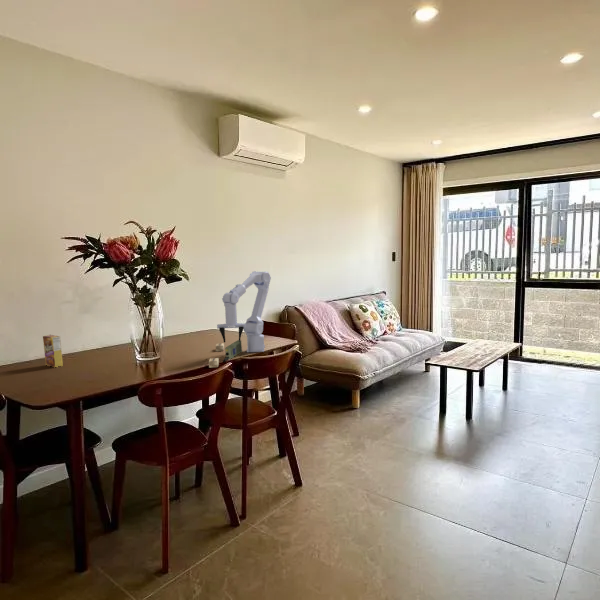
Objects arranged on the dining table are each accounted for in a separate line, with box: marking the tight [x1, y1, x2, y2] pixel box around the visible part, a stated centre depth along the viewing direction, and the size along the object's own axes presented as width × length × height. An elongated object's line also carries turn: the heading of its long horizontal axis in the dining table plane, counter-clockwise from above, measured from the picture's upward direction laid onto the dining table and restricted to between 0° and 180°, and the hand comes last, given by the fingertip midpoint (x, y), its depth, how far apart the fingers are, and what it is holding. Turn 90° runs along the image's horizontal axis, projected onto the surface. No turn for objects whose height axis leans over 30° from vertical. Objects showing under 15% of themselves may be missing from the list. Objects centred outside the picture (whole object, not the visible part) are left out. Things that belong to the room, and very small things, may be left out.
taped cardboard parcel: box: [208, 342, 225, 368], centre depth 237 cm, size 4×42×3 cm, turn 5°
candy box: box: [42, 334, 64, 368], centre depth 226 cm, size 9×4×15 cm, turn 57°
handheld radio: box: [222, 339, 243, 362], centre depth 237 cm, size 7×3×25 cm
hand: (232, 341), depth 237 cm, fingers open, 7 cm apart
